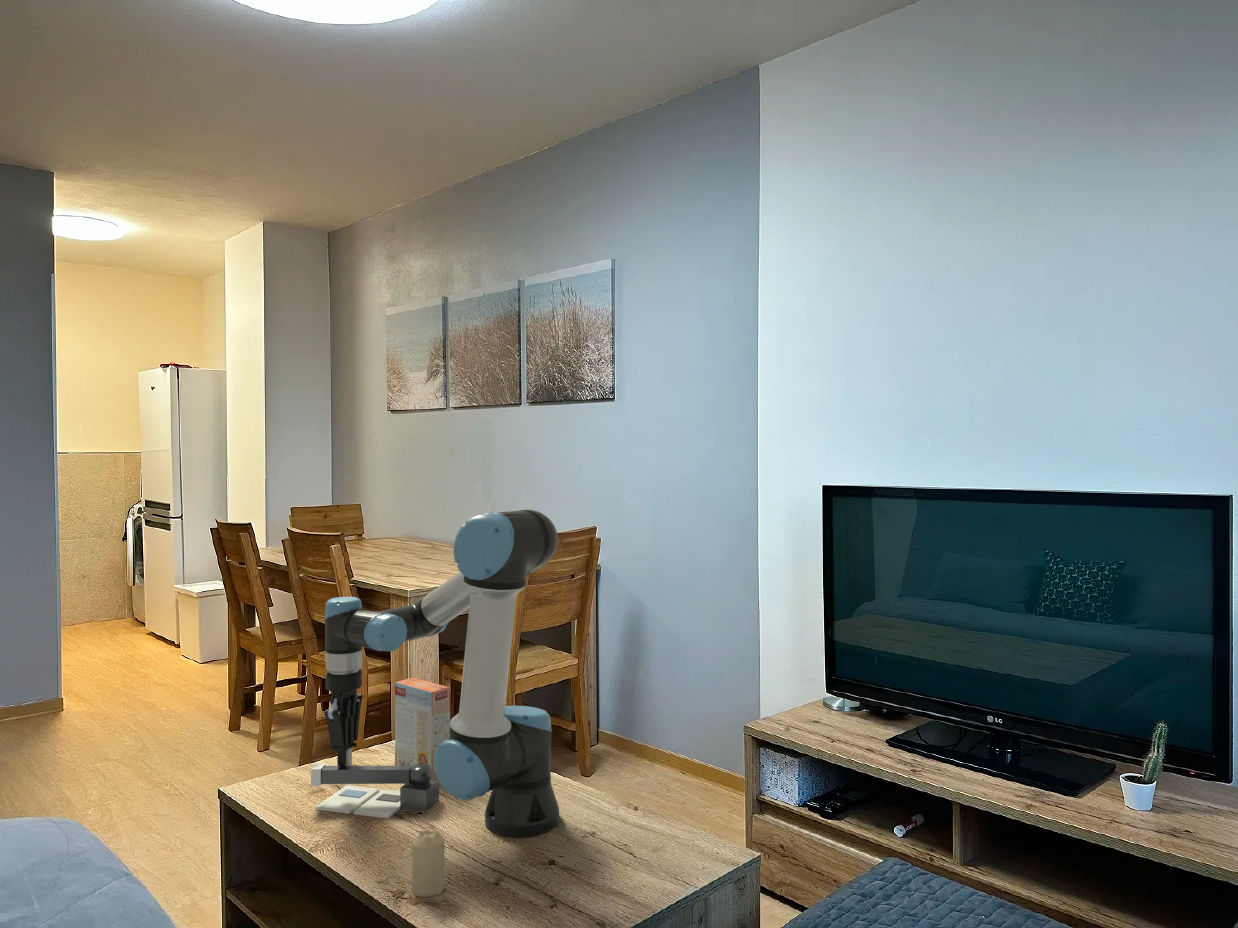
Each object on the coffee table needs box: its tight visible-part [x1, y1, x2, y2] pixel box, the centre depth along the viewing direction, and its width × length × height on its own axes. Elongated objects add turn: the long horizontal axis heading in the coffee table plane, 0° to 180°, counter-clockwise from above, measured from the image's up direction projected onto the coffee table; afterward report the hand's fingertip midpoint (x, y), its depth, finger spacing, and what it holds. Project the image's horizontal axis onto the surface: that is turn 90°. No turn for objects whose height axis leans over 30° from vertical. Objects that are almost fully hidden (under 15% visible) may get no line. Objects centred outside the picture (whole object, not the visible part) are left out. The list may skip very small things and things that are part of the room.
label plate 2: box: [353, 788, 401, 819], centre depth 187 cm, size 8×12×1 cm, turn 166°
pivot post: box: [399, 779, 440, 813], centre depth 187 cm, size 6×6×4 cm
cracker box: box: [394, 677, 451, 780], centre depth 206 cm, size 14×6×21 cm, turn 50°
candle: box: [411, 830, 446, 898], centre depth 152 cm, size 6×6×10 cm
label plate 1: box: [314, 784, 380, 814], centre depth 189 cm, size 8×12×1 cm, turn 166°
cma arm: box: [310, 763, 430, 787], centre depth 187 cm, size 25×4×4 cm, turn 92°
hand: (344, 778), depth 189 cm, fingers closed
